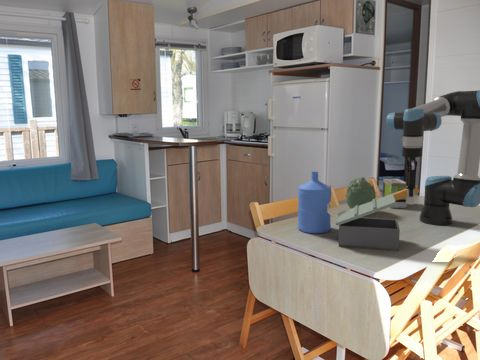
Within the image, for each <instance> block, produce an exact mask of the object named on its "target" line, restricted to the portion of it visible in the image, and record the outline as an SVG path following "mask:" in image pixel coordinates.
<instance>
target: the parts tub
mask: <svg viewBox="0 0 480 360" xmlns="http://www.w3.org/2000/svg"><path fill="white" fill-rule="evenodd" d="M400 233H401V231H400V225H399V221H398V219H395V218H380V217H379V218H375V217H360V218H358V219H355V220H352V221H349V222H346V223H344V224H341V225H338V247H341V248H356V249H369V250H384V251H393V250H394V251H396V252H399V250H400V249H399V247H400Z"/></svg>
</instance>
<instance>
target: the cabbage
mask: <svg viewBox="0 0 480 360" xmlns="http://www.w3.org/2000/svg"><path fill="white" fill-rule="evenodd" d="M345 199H346V203H347V206H348V207H349V209H352V208H354V207H355V206H356V205H358V206H360V205H363V204H365V203H368V202H371V201H372V199H375V200H376V199H377V198H376V190H375V186H374V185H372V184H371V183H370V182H368V181H367V179H366V178H365V177H364V176H363V177H358V178H353V179H350V180H349V182H348V186H347V188H346V192H345Z"/></svg>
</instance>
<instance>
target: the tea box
mask: <svg viewBox="0 0 480 360" xmlns="http://www.w3.org/2000/svg"><path fill="white" fill-rule="evenodd" d="M406 187H408V186H407V185H406V180H405V181H404V180H402V179H400V178H383V182H382V197H385V196H387V195H390V194H393V193H395V192H398V191H401V190H404V189H406ZM396 204H397V205H394V206H391V207H389V208H390V209H391V208H392V209H406V208H408V204H407V202H406V197H405V198H402V199H399V200H397V201H396Z"/></svg>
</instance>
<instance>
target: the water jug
mask: <svg viewBox="0 0 480 360" xmlns="http://www.w3.org/2000/svg"><path fill="white" fill-rule="evenodd" d="M310 173H311V180H309V181H307V182H304V183H303V184H300V185H299V186H298V191H297V197H298V198H297V199H298V200H297V201H298V203H297V204H298V205H297V206H298V207H297V212H298V213H297V214H298V215H297V220H298V223H297V229H298V230H299V231H301V232H303V233H307V234H324V233H327V232H329V231H331V228H332V227H331V226H332V225H331V218H332V216H331V214H330V213H329V212H328V205H329V203H330V202H331V200H332V188H331V187H332V186H330V185H328V184H327V183H324V182H321V181H320V180H319V171H311V172H310Z"/></svg>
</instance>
